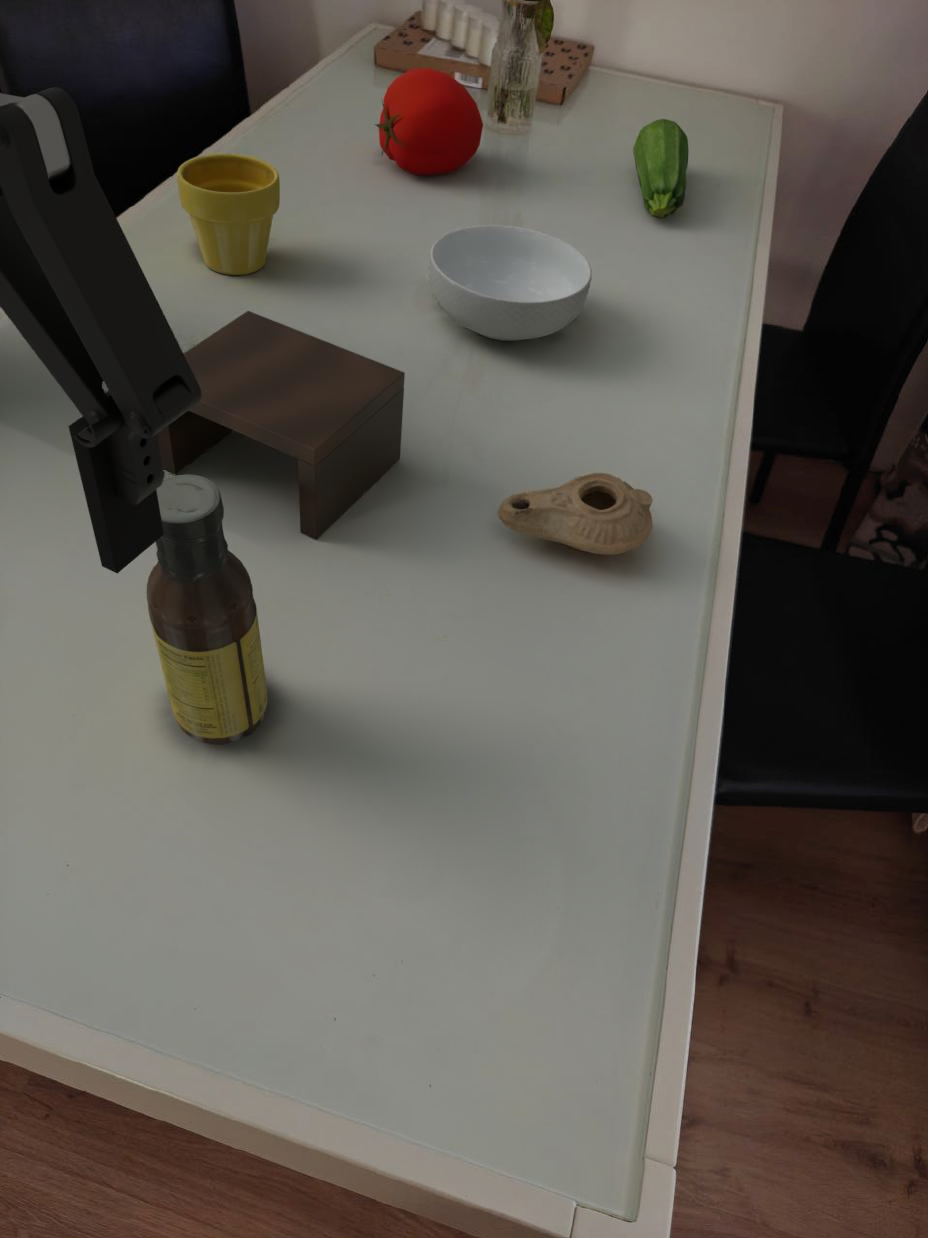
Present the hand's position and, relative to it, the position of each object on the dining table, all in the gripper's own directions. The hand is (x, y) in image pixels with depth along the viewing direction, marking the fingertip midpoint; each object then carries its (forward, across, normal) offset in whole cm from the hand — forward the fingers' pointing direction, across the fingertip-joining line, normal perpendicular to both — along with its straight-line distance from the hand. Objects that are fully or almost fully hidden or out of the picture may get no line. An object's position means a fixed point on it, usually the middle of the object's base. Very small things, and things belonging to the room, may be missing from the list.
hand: (2, 488), depth 41 cm
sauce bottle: (+28, 0, -11) cm, 30 cm away
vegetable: (+27, +6, -111) cm, 114 cm away
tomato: (+27, +34, -98) cm, 107 cm away
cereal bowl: (+27, +8, -69) cm, 75 cm away
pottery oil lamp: (+28, -12, -42) cm, 51 cm away
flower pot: (+27, +38, -62) cm, 78 cm away
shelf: (+27, +13, -36) cm, 47 cm away
